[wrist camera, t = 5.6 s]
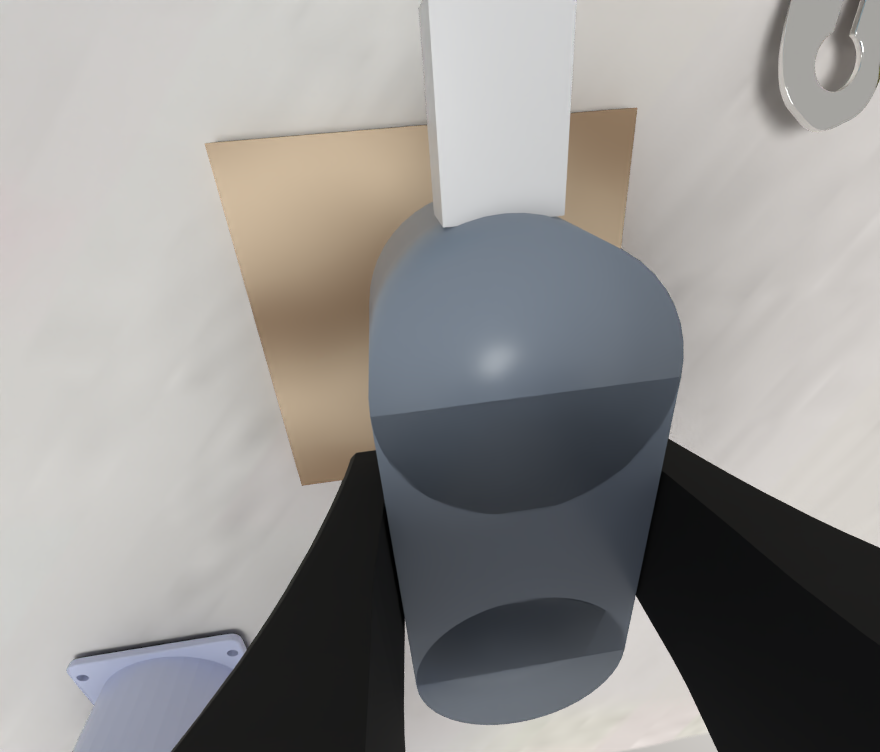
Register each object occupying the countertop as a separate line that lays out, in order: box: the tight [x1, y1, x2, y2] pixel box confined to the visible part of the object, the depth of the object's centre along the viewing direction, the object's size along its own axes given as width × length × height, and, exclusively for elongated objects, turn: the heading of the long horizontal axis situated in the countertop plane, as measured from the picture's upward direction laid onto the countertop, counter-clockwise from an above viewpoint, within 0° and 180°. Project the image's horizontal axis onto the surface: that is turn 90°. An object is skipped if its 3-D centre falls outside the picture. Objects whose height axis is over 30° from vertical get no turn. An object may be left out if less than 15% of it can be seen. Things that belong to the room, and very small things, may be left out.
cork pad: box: [205, 108, 637, 486], centre depth 16 cm, size 12×12×1 cm
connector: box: [368, 0, 683, 725], centre depth 8 cm, size 12×4×4 cm, turn 4°
